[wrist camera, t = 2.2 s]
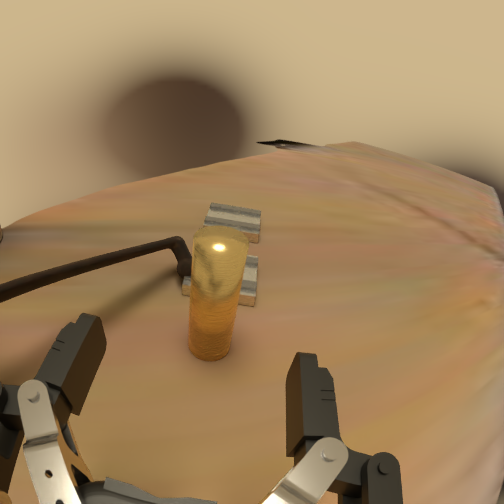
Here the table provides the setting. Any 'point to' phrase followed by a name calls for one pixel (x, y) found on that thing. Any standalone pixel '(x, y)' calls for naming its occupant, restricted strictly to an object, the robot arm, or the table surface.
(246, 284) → the metal plates
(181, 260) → the wrench
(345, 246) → the table surface
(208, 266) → the link pin
